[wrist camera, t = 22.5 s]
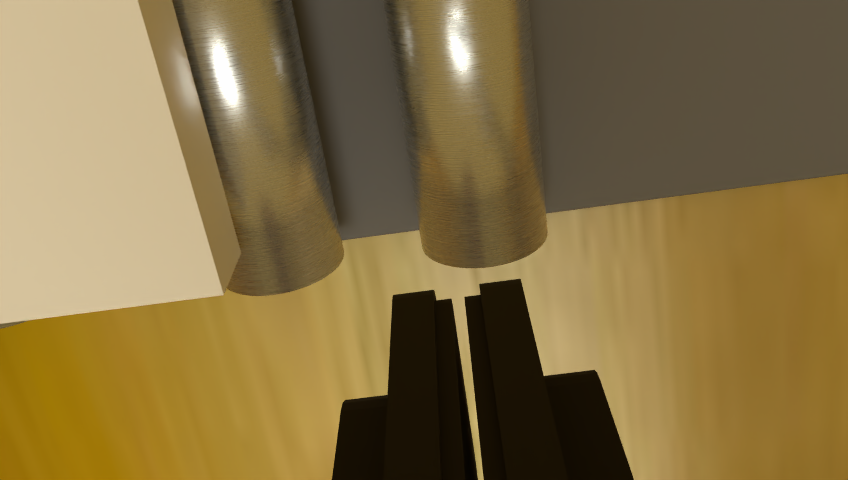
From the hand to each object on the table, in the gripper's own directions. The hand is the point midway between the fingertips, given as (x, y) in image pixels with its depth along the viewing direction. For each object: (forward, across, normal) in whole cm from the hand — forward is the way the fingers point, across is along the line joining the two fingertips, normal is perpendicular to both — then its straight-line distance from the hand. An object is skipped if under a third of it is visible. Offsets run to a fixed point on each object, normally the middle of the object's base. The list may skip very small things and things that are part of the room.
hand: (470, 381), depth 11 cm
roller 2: (+22, -2, 0) cm, 22 cm away
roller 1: (+22, +8, 0) cm, 24 cm away
